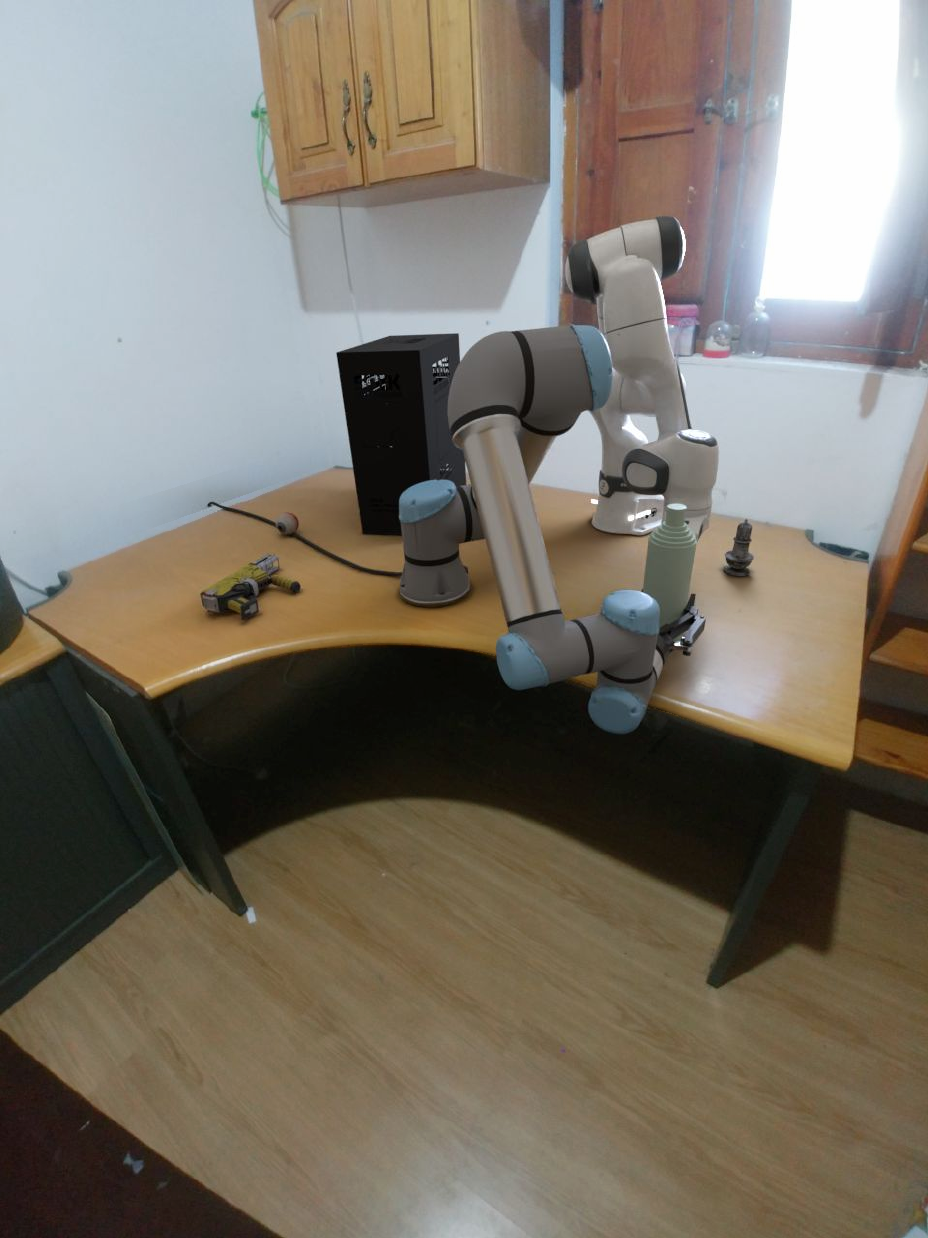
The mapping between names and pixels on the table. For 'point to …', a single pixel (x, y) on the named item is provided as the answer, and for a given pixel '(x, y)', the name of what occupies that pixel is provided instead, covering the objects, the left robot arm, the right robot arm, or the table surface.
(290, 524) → the eyeball
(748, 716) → the table surface
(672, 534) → the bottle
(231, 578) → the toy gun
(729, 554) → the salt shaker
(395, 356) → the cardboard box
